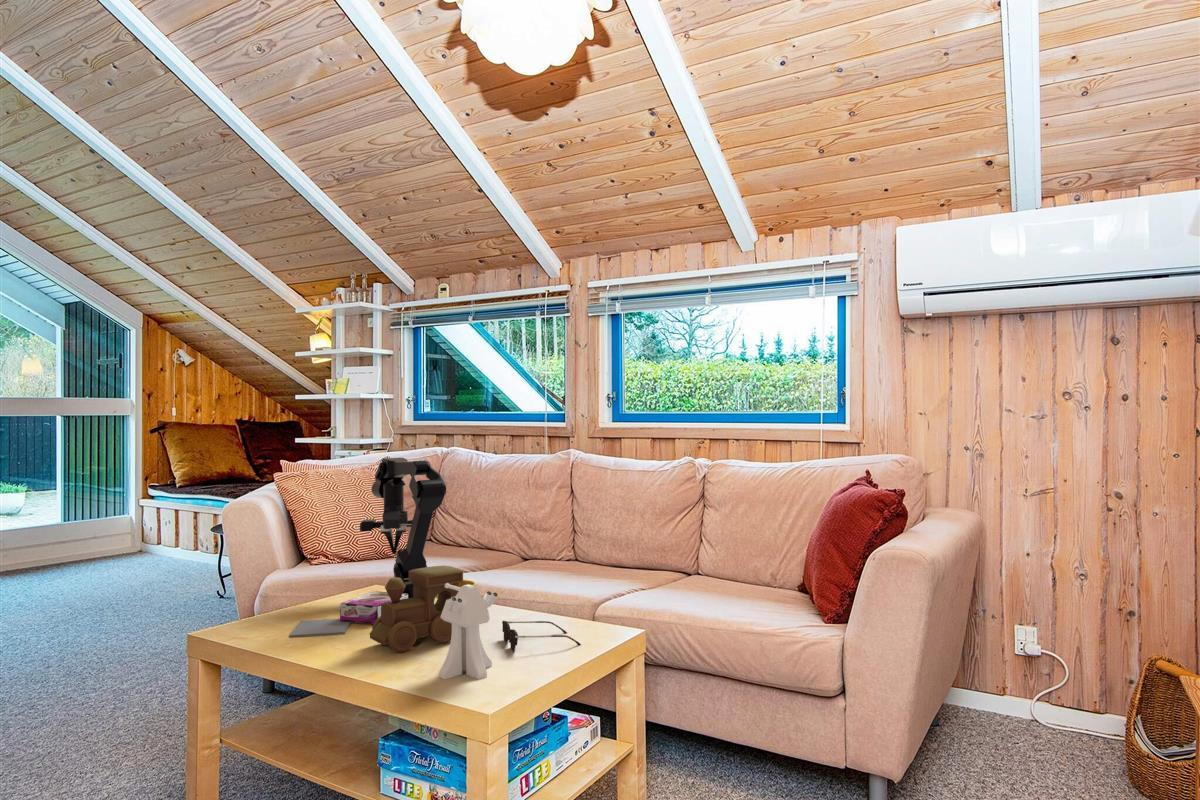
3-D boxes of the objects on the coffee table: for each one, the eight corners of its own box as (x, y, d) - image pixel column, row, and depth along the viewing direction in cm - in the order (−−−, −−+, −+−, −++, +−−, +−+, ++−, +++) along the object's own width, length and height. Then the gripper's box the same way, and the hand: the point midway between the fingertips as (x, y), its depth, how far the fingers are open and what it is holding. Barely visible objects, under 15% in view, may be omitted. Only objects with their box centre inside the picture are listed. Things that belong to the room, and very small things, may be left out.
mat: (352, 619, 210) (352, 617, 210) (344, 634, 197) (344, 631, 197) (300, 622, 208) (300, 620, 208) (289, 637, 194) (289, 635, 194)
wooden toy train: (443, 630, 199) (443, 563, 199) (466, 640, 190) (465, 570, 190) (366, 646, 186) (365, 574, 186) (387, 657, 177) (386, 582, 178)
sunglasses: (501, 640, 191) (502, 619, 191) (565, 637, 196) (566, 616, 196) (514, 656, 178) (515, 633, 178) (583, 652, 183) (584, 630, 183)
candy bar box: (339, 602, 207) (372, 590, 223) (339, 621, 206) (372, 608, 222) (378, 605, 204) (409, 592, 220) (378, 624, 204) (408, 611, 220)
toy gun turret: (470, 657, 176) (469, 575, 176) (506, 671, 166) (505, 584, 167) (422, 670, 168) (421, 584, 168) (458, 685, 158) (457, 593, 158)
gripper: (357, 504, 225) (357, 560, 225) (425, 502, 229) (425, 557, 228) (362, 500, 236) (362, 553, 236) (426, 498, 240) (427, 550, 239)
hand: (394, 553), depth 235 cm, fingers closed
